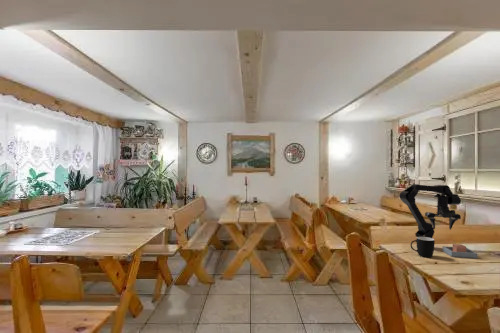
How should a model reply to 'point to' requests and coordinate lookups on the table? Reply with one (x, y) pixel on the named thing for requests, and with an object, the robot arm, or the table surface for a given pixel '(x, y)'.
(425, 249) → the mug
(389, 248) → the table surface
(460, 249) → the red block
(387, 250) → the table surface
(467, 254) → the tray
